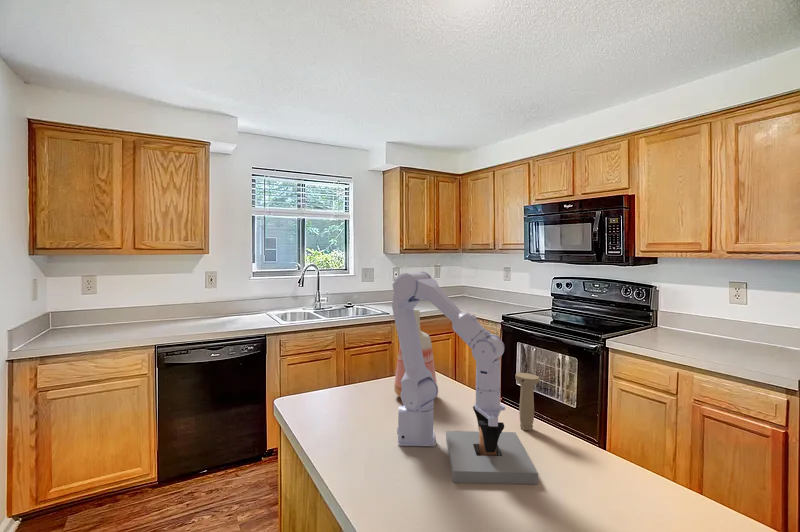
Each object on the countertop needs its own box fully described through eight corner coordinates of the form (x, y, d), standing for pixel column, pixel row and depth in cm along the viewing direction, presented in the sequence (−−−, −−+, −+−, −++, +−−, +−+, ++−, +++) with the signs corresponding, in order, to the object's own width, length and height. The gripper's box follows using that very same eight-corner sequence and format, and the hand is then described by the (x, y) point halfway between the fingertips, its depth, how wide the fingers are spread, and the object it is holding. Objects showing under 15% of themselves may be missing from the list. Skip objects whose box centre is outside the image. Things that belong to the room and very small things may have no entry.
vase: (390, 391, 147) (390, 308, 146) (429, 388, 151) (429, 307, 150) (399, 406, 133) (400, 314, 132) (442, 403, 137) (443, 312, 136)
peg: (480, 464, 98) (480, 430, 97) (477, 456, 102) (478, 423, 101) (497, 464, 98) (498, 430, 97) (494, 456, 102) (494, 423, 101)
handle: (532, 435, 113) (533, 380, 113) (511, 427, 118) (512, 375, 117) (541, 430, 116) (542, 376, 116) (520, 423, 121) (521, 371, 121)
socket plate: (453, 482, 90) (453, 471, 90) (446, 440, 110) (446, 431, 110) (537, 484, 89) (537, 472, 89) (515, 441, 109) (515, 432, 109)
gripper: (512, 398, 92) (511, 459, 92) (498, 378, 106) (498, 431, 107) (479, 398, 92) (479, 458, 92) (470, 377, 106) (470, 430, 107)
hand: (487, 443), depth 99 cm, fingers open, 7 cm apart
